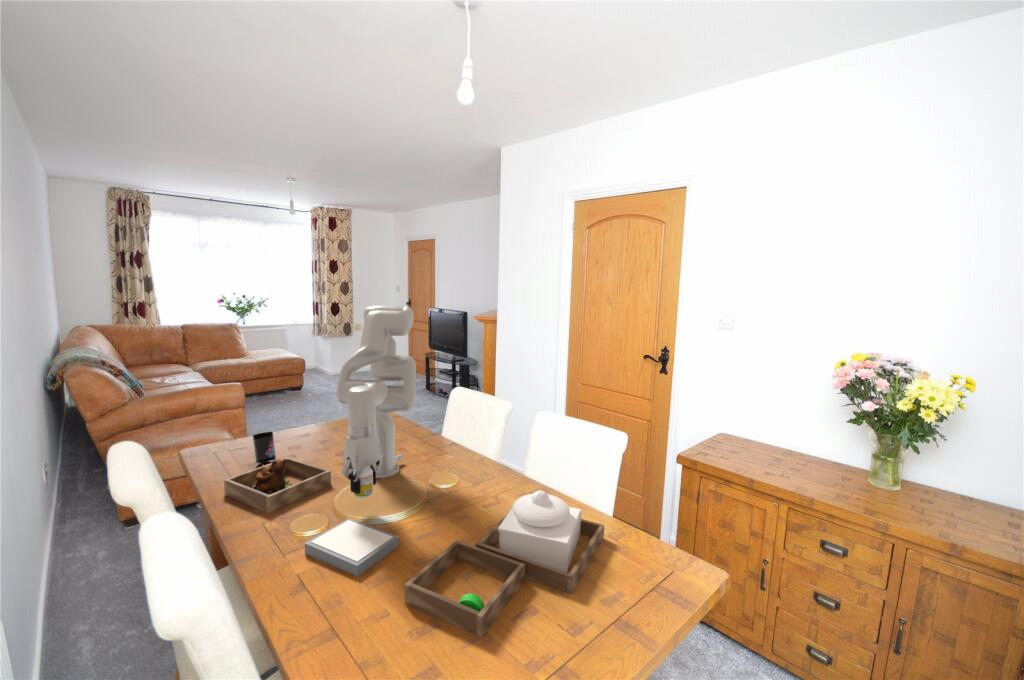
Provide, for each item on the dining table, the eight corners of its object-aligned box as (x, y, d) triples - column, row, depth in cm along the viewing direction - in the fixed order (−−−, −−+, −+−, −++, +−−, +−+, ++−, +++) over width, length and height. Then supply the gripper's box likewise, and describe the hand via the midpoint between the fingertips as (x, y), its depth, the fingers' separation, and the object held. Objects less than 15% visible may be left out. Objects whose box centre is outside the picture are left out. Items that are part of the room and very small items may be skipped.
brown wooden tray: (288, 470, 160) (287, 457, 159) (330, 484, 150) (330, 470, 149) (224, 495, 141) (224, 479, 140) (269, 513, 131) (268, 497, 130)
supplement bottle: (356, 489, 134) (355, 458, 132) (375, 489, 134) (374, 458, 133) (351, 498, 129) (350, 467, 127) (370, 498, 129) (370, 467, 127)
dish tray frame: (520, 518, 132) (521, 502, 132) (603, 542, 121) (604, 525, 120) (475, 563, 110) (475, 544, 110) (571, 598, 99) (572, 577, 98)
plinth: (349, 528, 124) (348, 517, 124) (398, 547, 116) (398, 536, 115) (304, 554, 112) (304, 542, 111) (357, 577, 103) (357, 565, 103)
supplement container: (263, 461, 160) (259, 432, 162) (251, 465, 163) (248, 436, 165) (280, 458, 166) (276, 430, 168) (269, 462, 169) (265, 434, 171)
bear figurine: (286, 479, 153) (285, 445, 152) (300, 495, 142) (299, 459, 141) (240, 491, 144) (239, 454, 143) (251, 509, 133) (250, 469, 132)
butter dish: (579, 538, 123) (582, 483, 121) (566, 578, 106) (569, 514, 104) (519, 525, 128) (521, 472, 126) (496, 561, 111) (498, 501, 110)
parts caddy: (456, 558, 112) (456, 540, 111) (524, 584, 103) (525, 564, 102) (404, 605, 95) (404, 583, 94) (481, 640, 86) (481, 617, 86)
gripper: (374, 418, 137) (375, 473, 140) (328, 436, 122) (330, 497, 125) (393, 423, 134) (393, 479, 137) (348, 441, 119) (349, 504, 122)
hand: (363, 487), depth 131 cm, fingers closed on supplement bottle, 5 cm apart
